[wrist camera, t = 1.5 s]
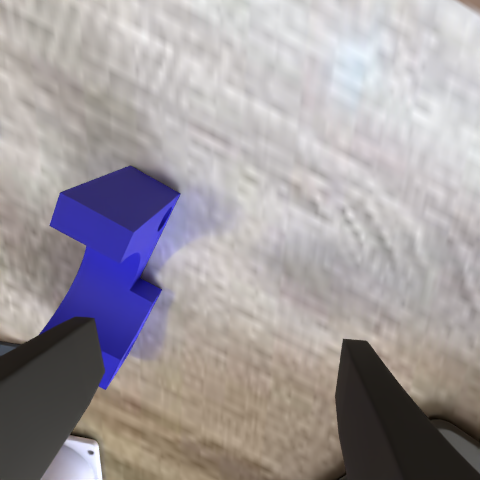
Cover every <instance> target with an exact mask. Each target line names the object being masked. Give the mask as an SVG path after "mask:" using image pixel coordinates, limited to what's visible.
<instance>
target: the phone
mask: <svg viewBox="0 0 480 480" xmlns="http://www.w3.org/2000/svg"><path fill="white" fill-rule="evenodd" d="M430 421H431V422H432V423H433V424H434V426H435V427H436V428H437V429H438V430H439V431H440V432H441V433H442V434H443V436H444V437H445V438H446V439H447V440H448V441H449V442H450V443H451V444H452V446H453V447H454V448H455V449H456V450H457V451H458V452H459V453H460V454H461V455H462V456H463V457H464V458H465V459H466V460H467V461H468V462H469V463H470V464H471V465H472V466H473V467H474V468H475V469H476V470H477V471H478V472H479V473H480V443H479V442H478V441H476V440H475V439H473V438H472V437H470V436H469V435H467V434H466V433H465V432H463V431H462V430H460V429H459V428H457V427H456V426H454V425H453V424H451V423H449V422H447V421H444V420H439V419H434V420H430ZM339 480H348V479H347V475H345V476H344V477H342V478H341V479H339Z"/></svg>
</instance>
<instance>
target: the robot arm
mask: <svg viewBox="0 0 480 480" xmlns="http://www.w3.org/2000/svg"><path fill="white" fill-rule="evenodd" d="M104 373H105V367H104V362H103V357H102V352H101V347H100V343H99V338H98V333H97V328H96V323H95V318H90V317H78V316H75V317H73V318H71V319H69V320H67V321H65V322H63V323H61V324H59V325H57V326H55V327H53V328H51V329H49V330H47V331H46V332H44V333H42V334H40V335H38V336H37V337H35V338H33V339H31V340H29V341H27V342H26V343H24V344H22V345H20V346H18V347H16V348H15V349H13V350H11V351H9V352H7V353H5V354H4V355H2V356H0V480H102V473H101V464H100V454H99V445H98V443H97V441H95V440H93V439H88V438H83V437H77V436H72V435H70V434H71V432H72V431H73V429H74V427H75V426H76V424H77V423H78V421H79V420H80V418H81V417H82V415H83V413H84V412H85V410H86V409H87V407H88V406H89V404H90V402H91V400H92V398H93V396H94V394H95V392H96V390H97V388H98V386H99V384H100V382H101V380H102V377H103V375H104ZM335 399H336V411H337V422H338V432H339V438H340V444H341V449H342V454H343V459H344V464H345V469H346V474H347V479H348V480H480V473H479V472H478V471H477V470H476V469H475V468H474V467H473V466H472V465H471V464H470V463H469V462H468V461H467V460H466V459H465V458H464V457H463V456H462V455H461V454H460V453H459V452H458V451H457V450H456V449H455V448H454V447H453V446H452V444H451V443H450V442H449V441H448V440H447V439H446V438H445V437H444V436H443V434H442V433H441V432H440V431H439V430H438V429H437V428H436V427H435V426H434V424H433V423H432V422H431V421H430V420H429V419H428V418H427V416H426V415H425V414H424V413H423V412H422V411H421V409H420V408H419V407H418V406H417V405H416V403H415V402H414V401H413V400H412V398H411V397H410V396H409V395H408V394H407V392H406V391H405V390H404V389H403V388H402V386H401V385H400V384H399V382H398V381H397V380H396V379H395V377H394V376H393V375H392V373H391V372H390V371H389V370H388V368H387V367H386V366H385V364H384V363H383V362H382V360H381V359H380V358H379V356H378V355H377V354H376V352H375V351H374V349H373V348H372V347H371V345H370V344H369V343H368V342H367V341H363V340H351V339H343V343H342V350H341V357H340V364H339V372H338V379H337V386H336V393H335Z"/></svg>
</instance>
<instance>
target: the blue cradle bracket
mask: <svg viewBox="0 0 480 480" xmlns="http://www.w3.org/2000/svg"><path fill="white" fill-rule="evenodd" d="M179 196H180V193H179V192H177V191H175V190H173V189H171V188H170V187H168V186H166V185H164V184H162V183H161V182H159V181H157V180H155V179H154V178H152V177H150V176H148V175H146V174H145V173H143V172H141V171H139V170H138V169H136V168H134V167H132V166H128V167H125V168H122V169H120V170H117V171H115V172H112V173H109V174H107V175H104V176H102V177H99V178H96V179H94V180H91V181H89V182H86V183H83V184H81V185H78V186H76V187H73V188H70V189H68V190H65V191H63V192H60V195H59V198H58V201H57V204H56V207H55V210H54V213H53V216H52V220H51V223H50V226H51V227H53V228H55V229H56V230H58V231H60V232H62V233H64V234H66V235H68V236H69V237H71V238H73V239H75V240H77V241H79V242H81V243H83V244H84V245H86V250H85V254H84V257H83V260H82V263H81V266H80V268H79V271H78V273H77V275H76V277H75V279H74V281H73V283H72V285H71V287H70V289H69V291H68V293H67V294H66V296H65V298H64V299H63V301H62V303H61V304H60V306H59V307H58V309H57V310H56V312H55V313H54V315H53V316H52V318H51V319H50V321H49V322H48V323H47V325H46V326H45V328H44V329H43V330H42V332H41V333H40V334H42V333H44V332H46V331H47V330H49V329H51V328H53V327H55V326H57V325H59V324H61V323H63V322H65V321H67V320H69V319H71V318H73V317H75V316H78V317H90V318H95V323H96V328H97V333H98V338H99V343H100V347H101V352H102V357H103V362H104V367H105V373H104V375H103V377H102V380H101V382H100V384H99V387H101V388H103V389H105V390H106V389H107V387H108V386H109V384H110V382H111V381H112V379H113V378H114V376H115V375H116V373H117V371H118V370H119V368H120V367H121V365H122V363H123V362H124V360H125V359H126V357H127V356H128V354H129V352H130V350H131V348H132V346H133V344H134V342H135V340H136V339H137V337H138V335H139V333H140V331H141V329H142V327H143V325H144V323H145V321H146V319H147V318H148V316H149V314H150V312H151V310H152V308H153V306H154V304H155V302H156V300H157V298H158V297H159V295H160V293H161V291H162V289H160V288H158V287H156V286H154V285H153V284H151V283H149V282H147V281H145V280H143V279H141V278H140V277H141V275H142V273H143V271H144V268H145V266H146V264H147V262H148V260H149V258H150V256H151V254H152V252H153V250H154V248H155V246H156V244H157V241H158V239H159V237H160V235H161V233H162V231H163V229H164V227H165V225H166V223H167V221H168V219H169V217H170V214H171V212H172V210H173V208H174V206H175V204H176V202H177V200H178V198H179ZM40 334H39V335H40Z"/></svg>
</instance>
